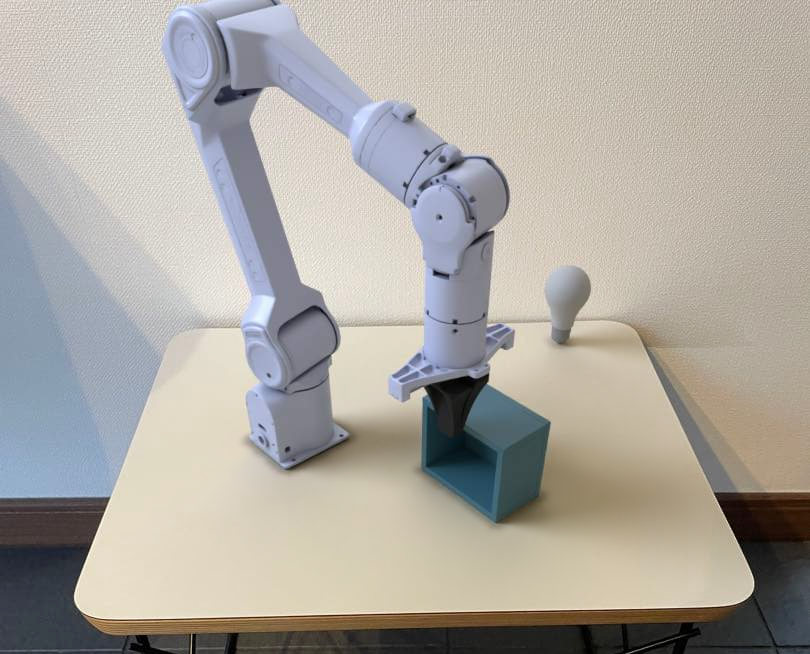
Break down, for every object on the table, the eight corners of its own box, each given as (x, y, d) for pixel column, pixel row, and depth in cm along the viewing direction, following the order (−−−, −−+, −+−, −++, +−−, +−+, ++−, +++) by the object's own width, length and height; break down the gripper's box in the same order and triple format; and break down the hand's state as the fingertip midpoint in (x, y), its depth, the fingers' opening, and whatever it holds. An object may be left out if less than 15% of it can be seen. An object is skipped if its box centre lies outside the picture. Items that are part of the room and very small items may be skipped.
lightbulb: (531, 346, 107) (541, 272, 100) (546, 327, 111) (557, 253, 103) (572, 357, 105) (586, 282, 98) (586, 337, 109) (600, 263, 101)
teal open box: (495, 523, 82) (503, 449, 75) (421, 469, 88) (422, 396, 81) (539, 494, 85) (551, 421, 78) (464, 444, 92) (469, 372, 85)
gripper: (425, 355, 63) (423, 481, 72) (544, 298, 69) (528, 421, 79) (371, 322, 66) (376, 446, 76) (489, 272, 73) (479, 391, 83)
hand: (450, 431), depth 78 cm, fingers closed
